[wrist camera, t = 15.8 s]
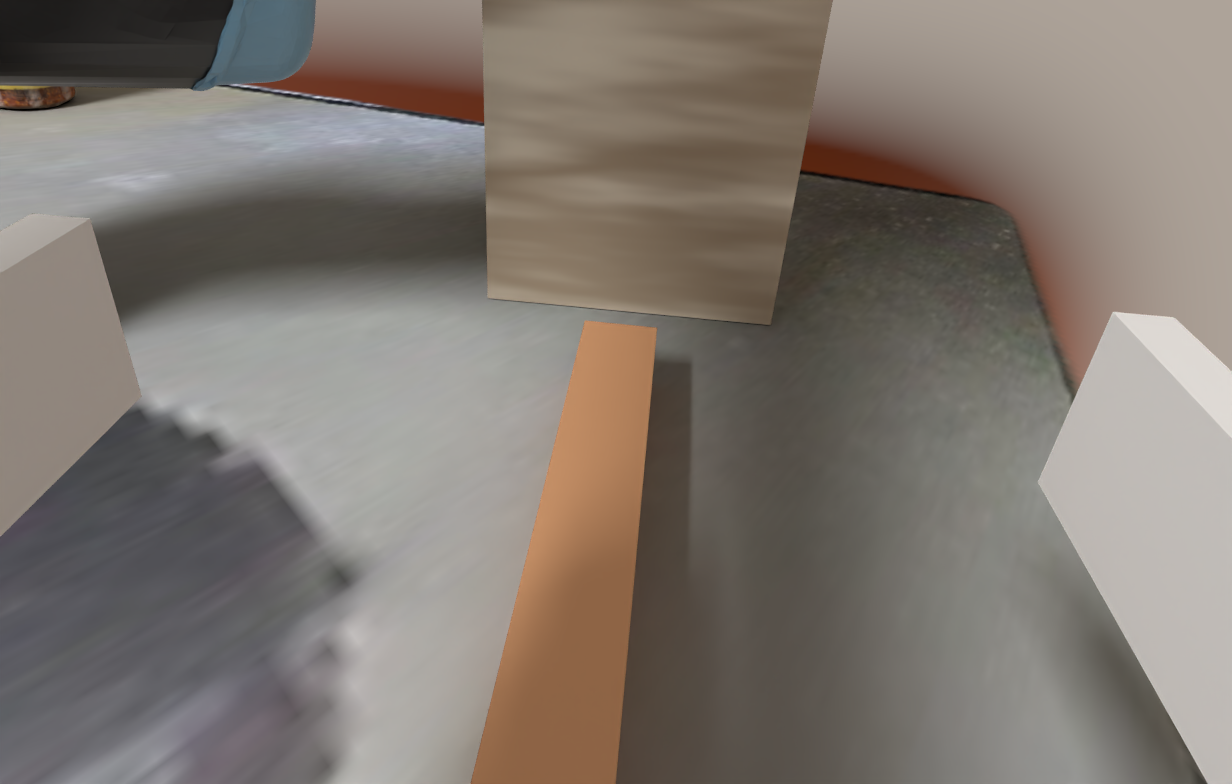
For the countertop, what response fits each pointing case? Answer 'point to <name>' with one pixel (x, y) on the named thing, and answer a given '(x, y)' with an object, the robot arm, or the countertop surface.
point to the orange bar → (577, 579)
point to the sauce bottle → (34, 96)
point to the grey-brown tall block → (646, 150)
